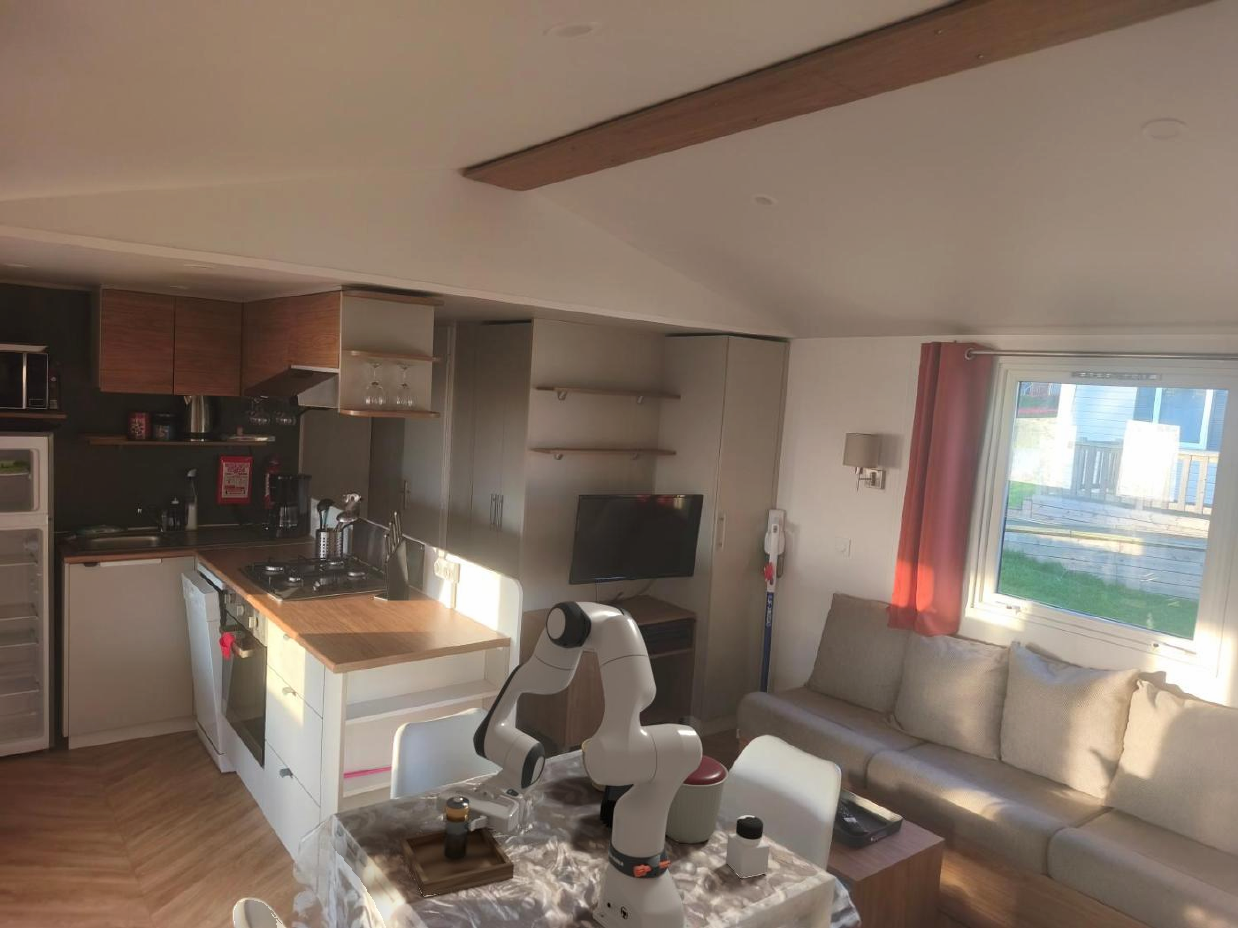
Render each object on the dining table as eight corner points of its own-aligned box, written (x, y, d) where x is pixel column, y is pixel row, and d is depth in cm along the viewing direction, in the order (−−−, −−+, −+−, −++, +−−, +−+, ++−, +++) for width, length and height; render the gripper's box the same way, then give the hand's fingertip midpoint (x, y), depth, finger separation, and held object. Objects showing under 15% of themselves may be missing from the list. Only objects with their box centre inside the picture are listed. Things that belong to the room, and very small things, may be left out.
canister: (727, 854, 204) (734, 769, 202) (651, 849, 204) (658, 764, 202) (718, 817, 222) (724, 738, 221) (648, 812, 222) (654, 734, 220)
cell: (469, 856, 191) (472, 801, 190) (447, 861, 189) (450, 805, 188) (462, 844, 196) (465, 791, 194) (440, 849, 193) (443, 794, 192)
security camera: (632, 807, 224) (635, 770, 224) (626, 843, 206) (629, 803, 205) (606, 804, 225) (609, 767, 224) (597, 840, 207) (600, 800, 206)
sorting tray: (513, 877, 188) (513, 864, 188) (423, 897, 179) (424, 884, 179) (481, 833, 206) (482, 821, 206) (398, 850, 196) (399, 837, 196)
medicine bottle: (767, 875, 197) (771, 824, 196) (740, 879, 194) (744, 828, 193) (751, 858, 203) (755, 810, 202) (725, 862, 201) (729, 813, 200)
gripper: (457, 774, 208) (420, 797, 196) (529, 797, 199) (495, 822, 187) (456, 799, 209) (419, 823, 196) (527, 823, 200) (493, 849, 187)
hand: (456, 823), depth 192 cm, fingers closed on cell, 5 cm apart
